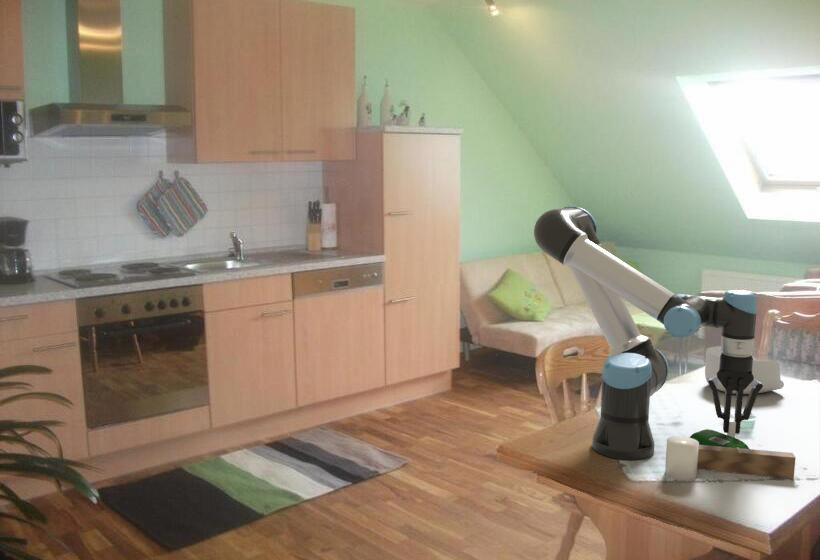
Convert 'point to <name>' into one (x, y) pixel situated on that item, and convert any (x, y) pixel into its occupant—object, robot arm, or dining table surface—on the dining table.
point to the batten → (746, 461)
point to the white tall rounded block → (681, 457)
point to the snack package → (717, 439)
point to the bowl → (760, 369)
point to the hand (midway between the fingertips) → (730, 445)
